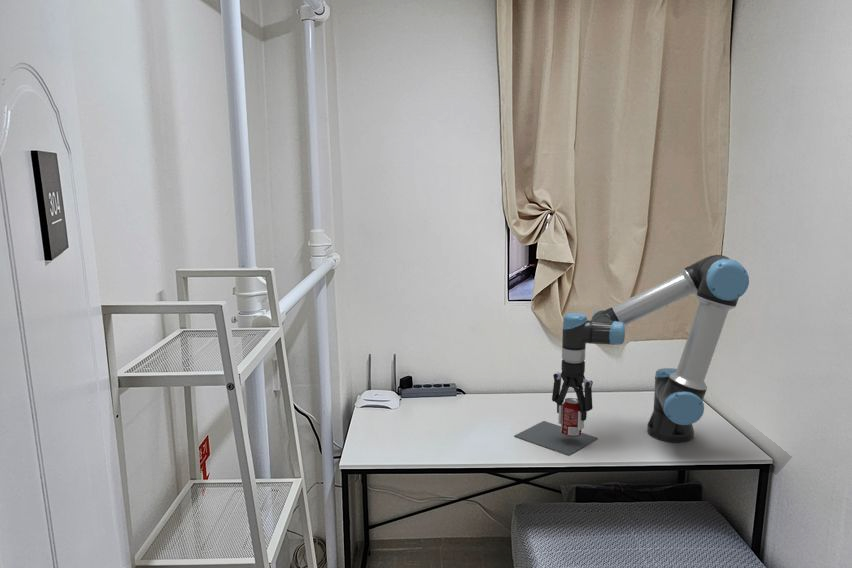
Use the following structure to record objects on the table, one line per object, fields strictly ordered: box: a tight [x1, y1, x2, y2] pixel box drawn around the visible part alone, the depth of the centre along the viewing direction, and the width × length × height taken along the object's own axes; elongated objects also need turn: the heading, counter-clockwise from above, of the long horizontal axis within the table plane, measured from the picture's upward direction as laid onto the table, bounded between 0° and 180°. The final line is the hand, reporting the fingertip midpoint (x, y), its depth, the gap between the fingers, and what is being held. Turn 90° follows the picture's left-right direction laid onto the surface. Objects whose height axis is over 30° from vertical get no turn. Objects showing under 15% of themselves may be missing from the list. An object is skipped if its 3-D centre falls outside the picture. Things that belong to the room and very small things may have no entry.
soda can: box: [560, 397, 582, 438], centre depth 211 cm, size 7×7×12 cm
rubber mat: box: [513, 420, 599, 457], centre depth 216 cm, size 22×18×1 cm
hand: (571, 425), depth 211 cm, fingers closed on soda can, 7 cm apart
